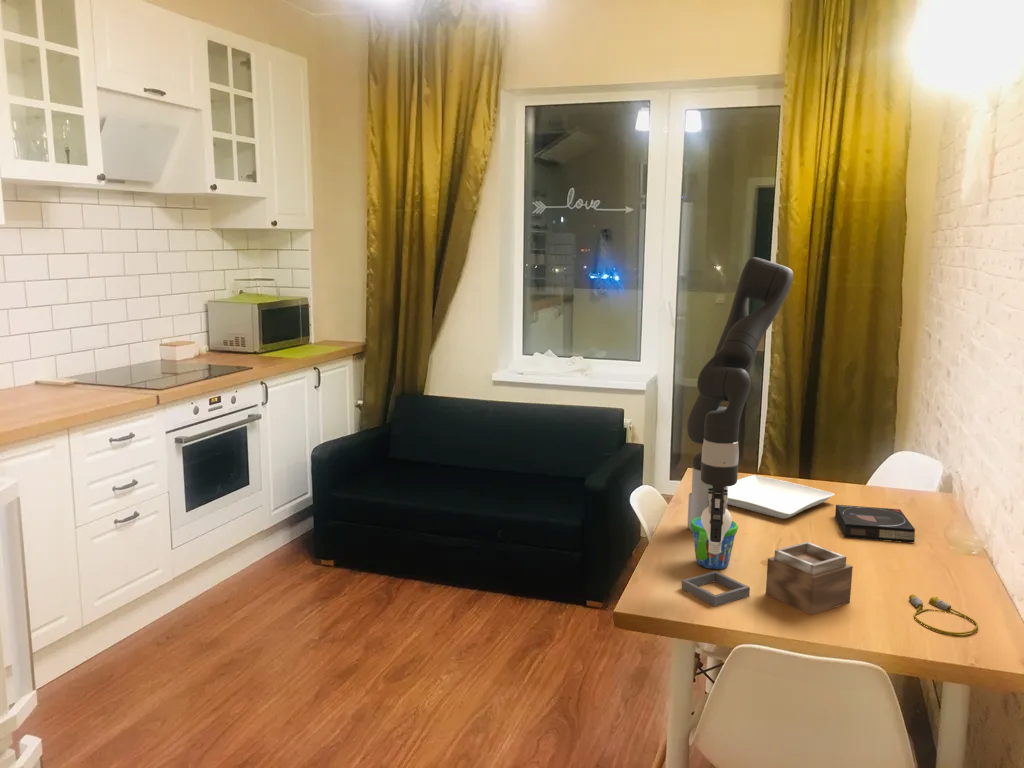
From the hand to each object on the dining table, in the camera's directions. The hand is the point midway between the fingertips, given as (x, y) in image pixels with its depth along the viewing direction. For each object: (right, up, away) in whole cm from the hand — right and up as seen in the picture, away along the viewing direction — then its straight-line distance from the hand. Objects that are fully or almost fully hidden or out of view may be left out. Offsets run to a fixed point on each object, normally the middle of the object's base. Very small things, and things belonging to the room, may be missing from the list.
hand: (715, 535), depth 173 cm
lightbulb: (0, -4, +1) cm, 4 cm away
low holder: (0, -13, +2) cm, 13 cm away
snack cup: (+4, -10, +18) cm, 21 cm away
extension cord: (+43, -15, -10) cm, 47 cm away
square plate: (+32, -3, +64) cm, 71 cm away
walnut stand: (+19, -13, -1) cm, 23 cm away
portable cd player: (+52, -7, +41) cm, 67 cm away
